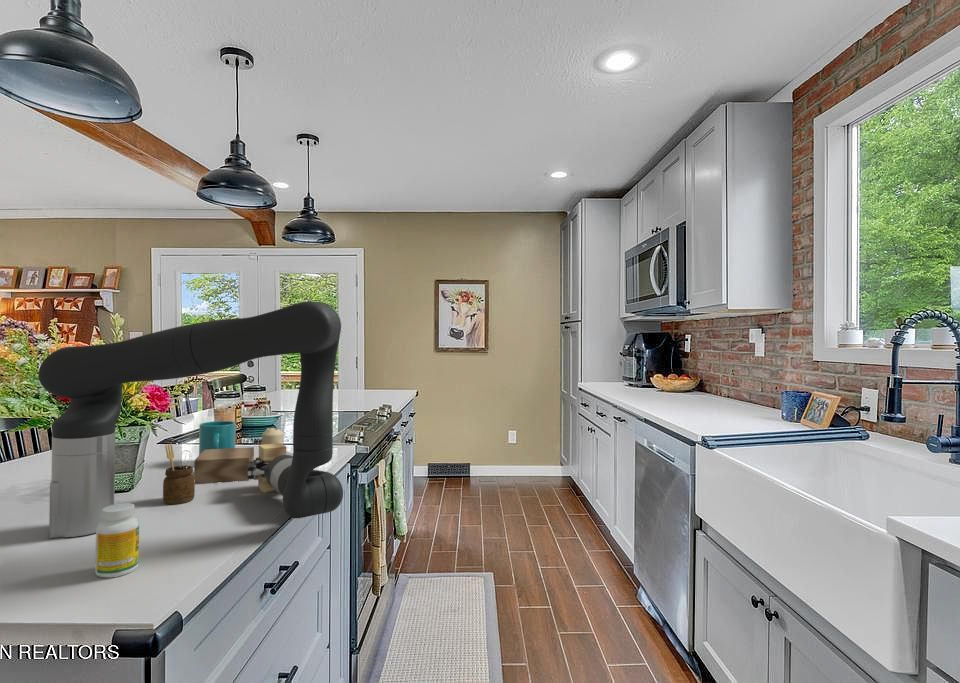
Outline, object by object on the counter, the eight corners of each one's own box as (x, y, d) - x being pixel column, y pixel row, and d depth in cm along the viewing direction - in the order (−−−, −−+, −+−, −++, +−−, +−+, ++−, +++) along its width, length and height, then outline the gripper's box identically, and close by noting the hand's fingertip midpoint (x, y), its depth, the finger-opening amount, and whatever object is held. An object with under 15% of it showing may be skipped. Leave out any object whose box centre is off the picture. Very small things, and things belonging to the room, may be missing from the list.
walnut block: (194, 485, 126) (194, 460, 126) (204, 472, 138) (204, 449, 138) (248, 481, 130) (249, 457, 130) (253, 469, 142) (253, 447, 142)
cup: (196, 471, 138) (196, 428, 138) (200, 461, 149) (201, 421, 149) (234, 468, 142) (234, 426, 142) (235, 458, 153) (236, 420, 153)
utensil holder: (177, 506, 109) (178, 448, 109) (155, 502, 111) (155, 446, 111) (201, 498, 115) (201, 443, 115) (179, 495, 117) (179, 441, 117)
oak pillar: (263, 492, 120) (263, 448, 120) (258, 487, 124) (258, 445, 124) (285, 489, 122) (286, 446, 122) (280, 484, 127) (280, 443, 127)
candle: (275, 466, 144) (275, 430, 144) (257, 465, 145) (257, 429, 145) (286, 462, 149) (287, 427, 149) (269, 461, 150) (269, 426, 150)
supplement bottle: (91, 570, 79) (92, 506, 79) (133, 560, 83) (134, 499, 83) (100, 582, 75) (101, 515, 75) (143, 570, 79) (144, 507, 79)
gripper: (322, 454, 115) (300, 441, 129) (253, 462, 107) (237, 447, 121) (322, 488, 115) (299, 472, 129) (252, 499, 107) (236, 480, 121)
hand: (269, 460), depth 125 cm, fingers closed on oak pillar, 5 cm apart
